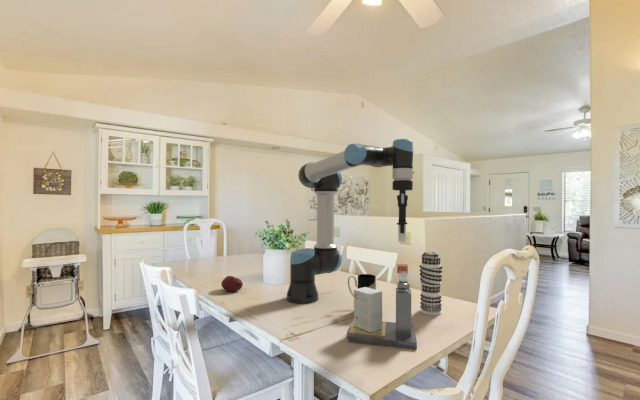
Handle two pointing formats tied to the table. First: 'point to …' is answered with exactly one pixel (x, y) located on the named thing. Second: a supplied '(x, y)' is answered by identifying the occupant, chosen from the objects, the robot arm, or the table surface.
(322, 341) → the table surface
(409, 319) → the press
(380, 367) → the table surface
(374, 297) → the small box
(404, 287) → the lever
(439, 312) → the decorative candle
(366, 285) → the glass holder
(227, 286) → the heart
